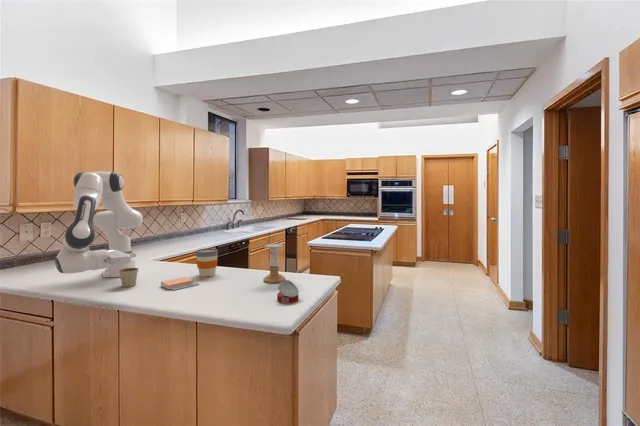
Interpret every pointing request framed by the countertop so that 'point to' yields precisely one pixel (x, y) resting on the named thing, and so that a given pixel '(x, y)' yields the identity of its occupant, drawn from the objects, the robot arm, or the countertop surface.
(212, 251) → the reusable coffee cup
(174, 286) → the tile
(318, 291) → the countertop surface
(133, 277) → the flower pot
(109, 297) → the countertop surface
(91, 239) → the robot arm
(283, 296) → the canned food
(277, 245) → the candle holder
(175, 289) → the mat
